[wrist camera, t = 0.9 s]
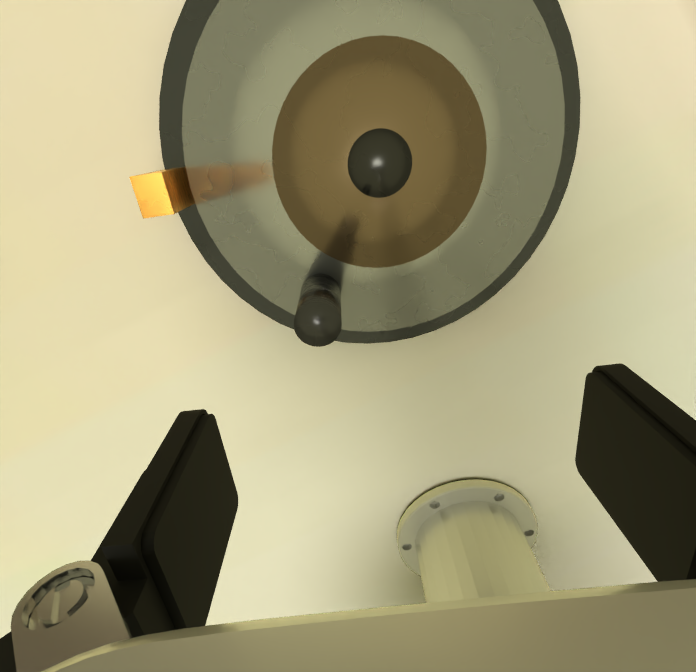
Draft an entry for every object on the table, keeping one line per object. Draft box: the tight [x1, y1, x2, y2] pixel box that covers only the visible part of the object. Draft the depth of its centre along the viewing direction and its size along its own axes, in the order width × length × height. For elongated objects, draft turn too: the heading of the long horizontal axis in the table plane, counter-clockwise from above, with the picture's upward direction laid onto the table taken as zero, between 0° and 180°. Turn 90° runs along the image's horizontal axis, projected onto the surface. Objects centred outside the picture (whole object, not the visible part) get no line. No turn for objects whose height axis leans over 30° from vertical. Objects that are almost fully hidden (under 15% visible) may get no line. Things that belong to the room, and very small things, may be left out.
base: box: [130, 0, 580, 343], centre depth 24 cm, size 24×24×6 cm
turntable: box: [182, 0, 565, 346], centre depth 22 cm, size 20×20×7 cm
